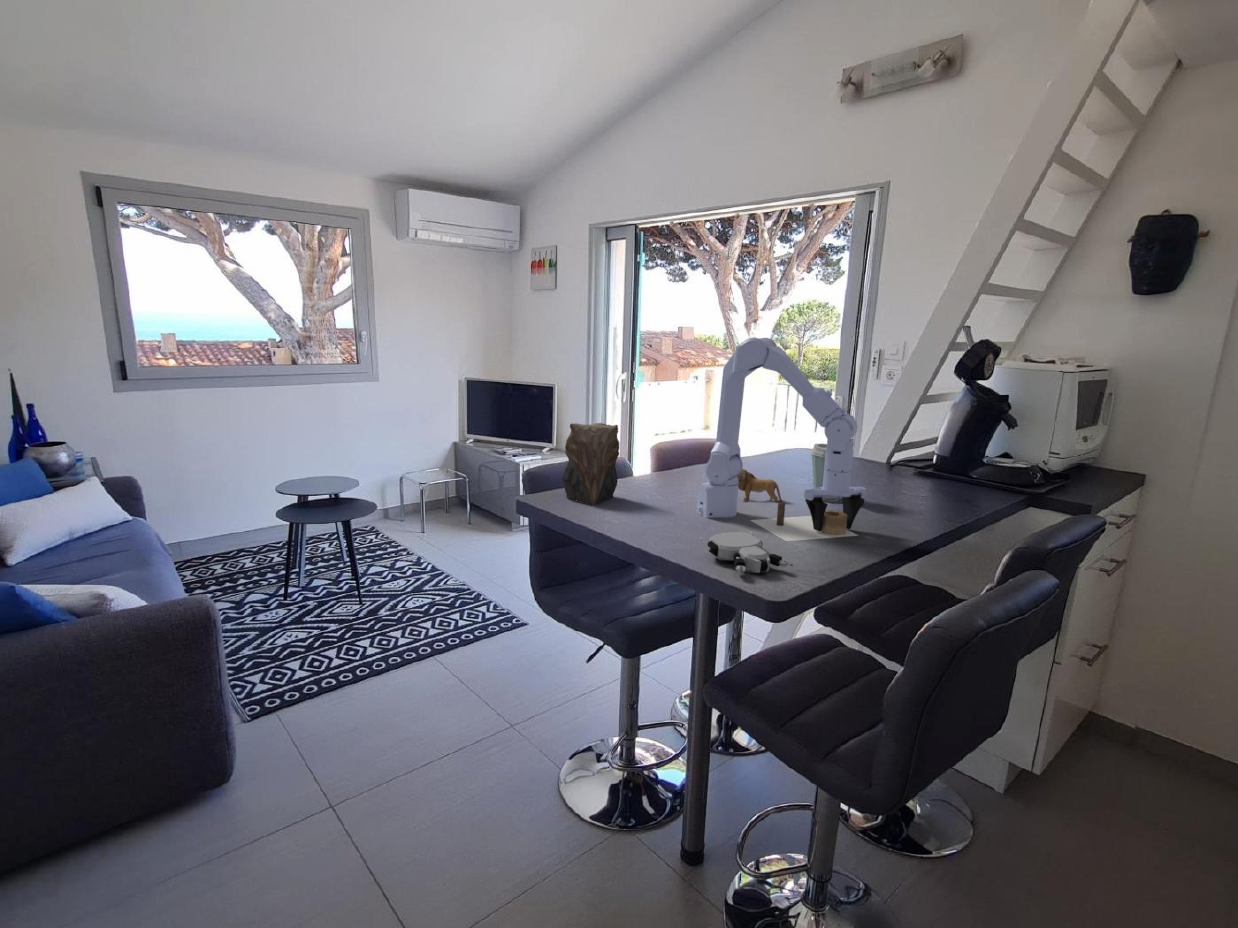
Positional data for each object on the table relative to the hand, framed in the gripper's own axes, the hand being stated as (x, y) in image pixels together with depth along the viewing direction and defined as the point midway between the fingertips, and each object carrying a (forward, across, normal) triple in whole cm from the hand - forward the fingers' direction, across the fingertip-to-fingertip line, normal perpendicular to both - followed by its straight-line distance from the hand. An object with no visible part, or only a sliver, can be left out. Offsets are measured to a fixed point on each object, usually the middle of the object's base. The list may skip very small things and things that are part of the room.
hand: (832, 528), depth 142 cm
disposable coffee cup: (+2, +19, +29) cm, 35 cm away
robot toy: (+2, -28, -11) cm, 30 cm away
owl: (+2, -45, +43) cm, 62 cm away
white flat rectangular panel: (+2, -5, +4) cm, 7 cm away
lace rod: (0, -9, +7) cm, 11 cm away
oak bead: (0, 0, 0) cm, 0 cm away
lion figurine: (+2, -2, +30) cm, 31 cm away
